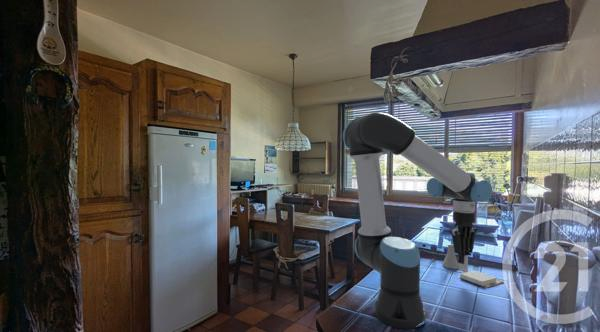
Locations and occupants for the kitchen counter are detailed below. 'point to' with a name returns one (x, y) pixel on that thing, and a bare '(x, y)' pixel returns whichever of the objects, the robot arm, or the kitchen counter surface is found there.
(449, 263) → the flask
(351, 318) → the kitchen counter surface
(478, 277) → the tile
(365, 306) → the kitchen counter surface
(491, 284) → the board
